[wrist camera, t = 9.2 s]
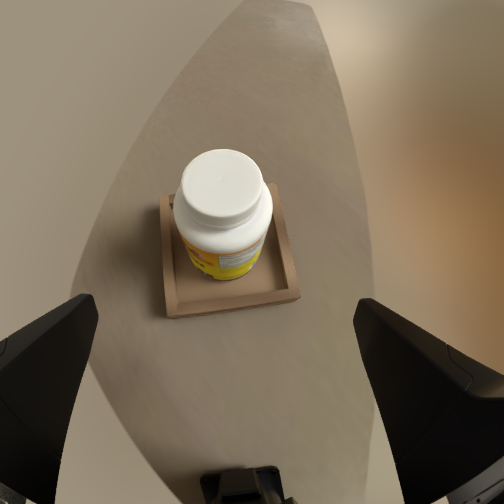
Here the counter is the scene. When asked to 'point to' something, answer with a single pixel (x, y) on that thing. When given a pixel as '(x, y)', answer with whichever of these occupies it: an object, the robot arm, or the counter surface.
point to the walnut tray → (233, 292)
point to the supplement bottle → (223, 213)
